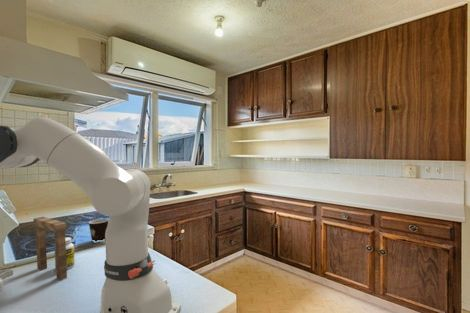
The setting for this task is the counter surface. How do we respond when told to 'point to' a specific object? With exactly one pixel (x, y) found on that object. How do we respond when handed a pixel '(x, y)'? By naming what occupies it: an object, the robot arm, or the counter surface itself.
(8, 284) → the counter surface
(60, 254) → the walnut archway
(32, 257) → the counter surface
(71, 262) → the pill bottle
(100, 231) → the coffee mug
